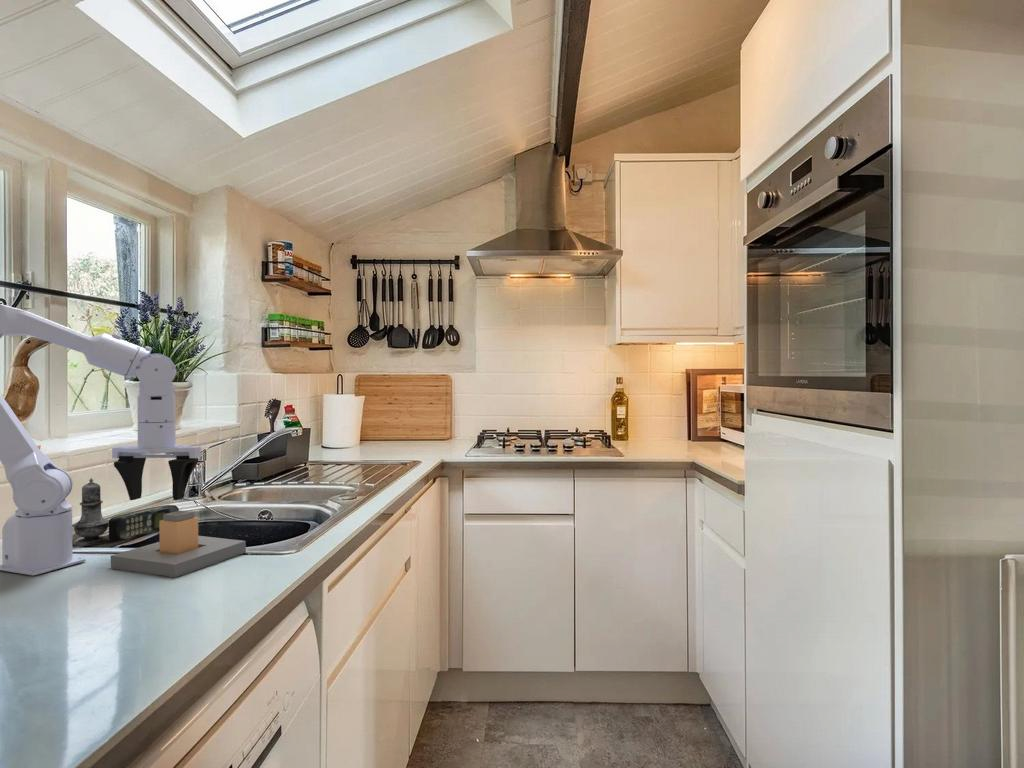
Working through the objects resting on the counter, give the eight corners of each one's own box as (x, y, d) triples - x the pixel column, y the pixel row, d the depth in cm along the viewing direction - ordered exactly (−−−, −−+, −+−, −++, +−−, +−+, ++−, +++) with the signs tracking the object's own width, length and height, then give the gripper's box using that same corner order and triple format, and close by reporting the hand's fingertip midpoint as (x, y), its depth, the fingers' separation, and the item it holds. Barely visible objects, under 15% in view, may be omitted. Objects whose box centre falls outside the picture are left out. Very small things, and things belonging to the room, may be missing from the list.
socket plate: (110, 568, 93) (110, 555, 93) (186, 545, 107) (185, 534, 107) (175, 577, 89) (175, 564, 89) (245, 552, 102) (245, 540, 102)
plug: (159, 563, 96) (159, 514, 96) (180, 556, 100) (180, 509, 100) (177, 565, 95) (177, 516, 95) (198, 558, 98) (198, 511, 98)
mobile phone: (115, 518, 108) (187, 501, 122) (104, 516, 110) (176, 500, 124) (115, 544, 109) (187, 524, 123) (105, 543, 110) (177, 523, 124)
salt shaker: (90, 546, 106) (90, 481, 106) (63, 545, 107) (63, 480, 107) (118, 538, 112) (117, 476, 112) (92, 537, 113) (92, 475, 113)
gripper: (99, 423, 98) (99, 503, 98) (185, 423, 98) (185, 503, 98) (127, 420, 105) (127, 495, 105) (207, 420, 105) (207, 495, 105)
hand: (157, 499), depth 102 cm, fingers open, 7 cm apart
